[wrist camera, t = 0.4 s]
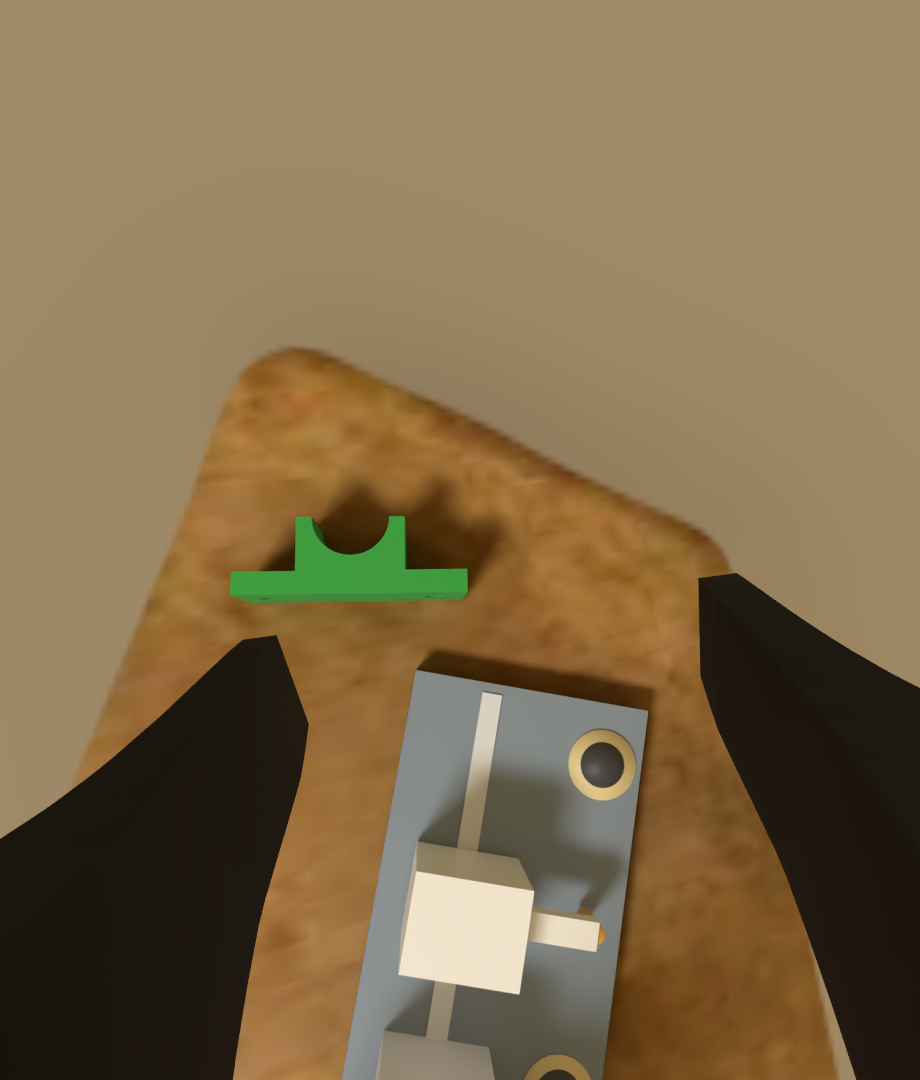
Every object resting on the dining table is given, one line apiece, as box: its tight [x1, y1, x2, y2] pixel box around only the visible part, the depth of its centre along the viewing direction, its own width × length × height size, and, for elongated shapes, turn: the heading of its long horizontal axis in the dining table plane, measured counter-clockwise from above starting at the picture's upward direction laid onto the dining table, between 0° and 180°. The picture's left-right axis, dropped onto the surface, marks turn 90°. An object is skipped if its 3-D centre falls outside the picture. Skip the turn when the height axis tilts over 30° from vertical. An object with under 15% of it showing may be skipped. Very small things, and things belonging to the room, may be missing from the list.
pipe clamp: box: [230, 516, 468, 603], centre depth 36 cm, size 11×4×5 cm, turn 91°
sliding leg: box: [398, 841, 605, 994], centre depth 32 cm, size 4×9×5 cm, turn 80°
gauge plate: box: [342, 670, 648, 1080], centre depth 33 cm, size 20×12×7 cm, turn 170°
